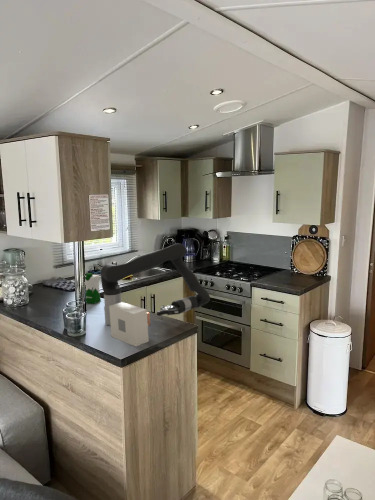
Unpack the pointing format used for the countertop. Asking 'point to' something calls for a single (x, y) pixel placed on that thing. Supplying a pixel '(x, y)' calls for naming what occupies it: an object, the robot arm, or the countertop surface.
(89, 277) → the milk carton
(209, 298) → the robot arm
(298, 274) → the countertop surface
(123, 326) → the key box
